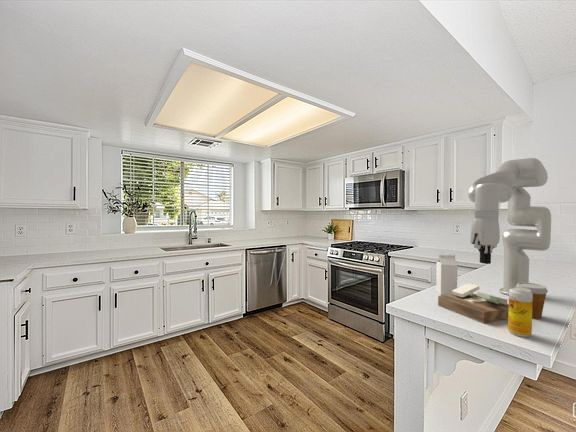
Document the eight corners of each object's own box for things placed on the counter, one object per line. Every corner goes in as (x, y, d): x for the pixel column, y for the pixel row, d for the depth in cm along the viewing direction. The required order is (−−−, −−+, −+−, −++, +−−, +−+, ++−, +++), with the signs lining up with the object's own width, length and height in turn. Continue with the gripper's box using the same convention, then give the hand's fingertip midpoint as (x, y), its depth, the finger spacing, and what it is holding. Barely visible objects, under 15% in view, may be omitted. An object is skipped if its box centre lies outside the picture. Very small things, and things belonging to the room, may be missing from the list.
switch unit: (468, 300, 128) (469, 290, 128) (517, 317, 109) (517, 304, 109) (438, 305, 122) (438, 294, 122) (483, 323, 103) (484, 310, 103)
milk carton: (457, 296, 134) (457, 256, 133) (440, 295, 136) (441, 256, 135) (451, 292, 141) (452, 254, 140) (436, 291, 142) (436, 253, 142)
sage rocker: (493, 301, 116) (494, 295, 116) (506, 306, 111) (507, 299, 111) (476, 298, 112) (477, 291, 112) (488, 302, 108) (490, 295, 108)
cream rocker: (469, 288, 126) (468, 282, 126) (480, 291, 121) (479, 285, 121) (452, 296, 123) (451, 290, 123) (463, 299, 118) (462, 294, 118)
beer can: (503, 330, 98) (504, 286, 97) (519, 329, 98) (521, 286, 98) (519, 338, 92) (520, 292, 91) (536, 337, 92) (537, 291, 92)
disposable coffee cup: (515, 309, 117) (515, 280, 117) (546, 315, 111) (547, 284, 111) (514, 316, 110) (515, 285, 110) (547, 322, 104) (548, 290, 104)
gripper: (490, 215, 115) (489, 260, 116) (463, 215, 110) (461, 262, 111) (510, 215, 108) (508, 264, 109) (481, 216, 103) (480, 266, 104)
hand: (485, 263), depth 110 cm, fingers closed
